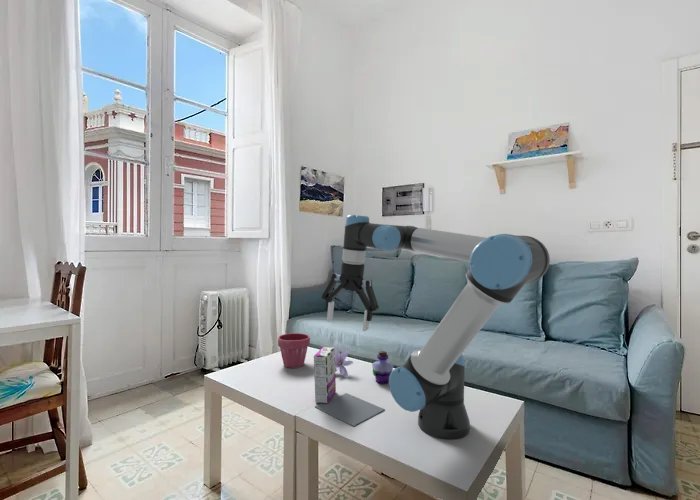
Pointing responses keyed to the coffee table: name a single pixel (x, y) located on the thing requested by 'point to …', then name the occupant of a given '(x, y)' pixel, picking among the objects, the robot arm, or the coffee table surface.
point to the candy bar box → (324, 374)
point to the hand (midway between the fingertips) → (347, 325)
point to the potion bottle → (382, 368)
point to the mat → (350, 409)
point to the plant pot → (293, 349)
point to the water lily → (341, 361)
